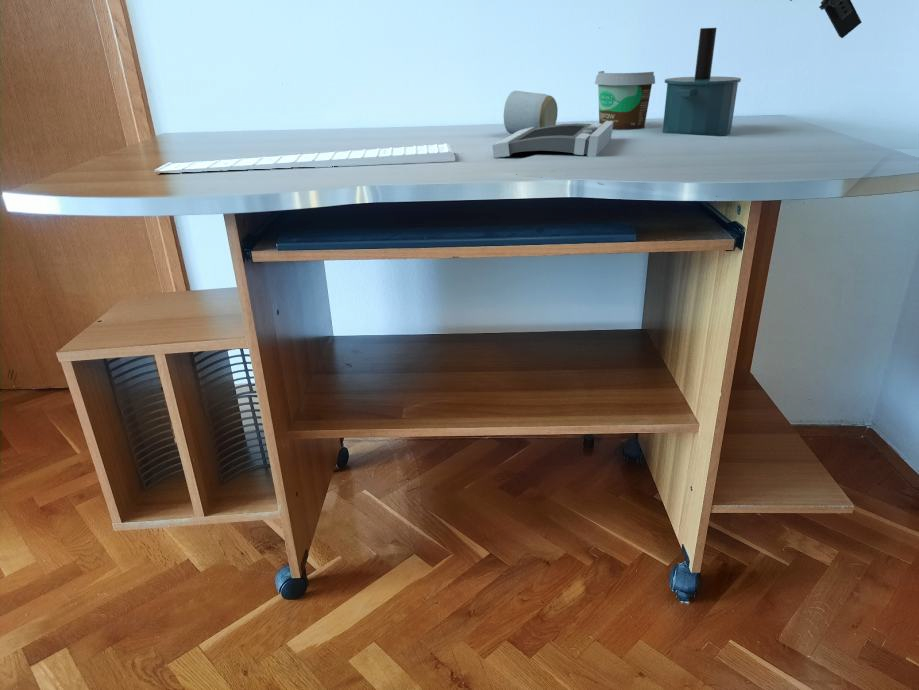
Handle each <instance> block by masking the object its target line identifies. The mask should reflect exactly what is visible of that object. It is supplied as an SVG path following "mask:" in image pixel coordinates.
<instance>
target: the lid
mask: <svg viewBox="0 0 919 690" xmlns="http://www.w3.org/2000/svg"><path fill="white" fill-rule="evenodd" d="M716 36H717V27H700V28H699V38H698V46H697V54H696V61H695V62H696V63H695V70H694V71H695V72H694V76H679V77H678V76H677V77H669V78H665V79H664V84H667V83H668V84H682V85H711V84H730V83H738V84H739V83H741V82H742V78H741V77H736V76H711V75H712V69H713V68H712V66H713V61H714V60H713V59H714V52H715V51H714V50H715V44H716Z"/></svg>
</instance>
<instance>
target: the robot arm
mask: <svg viewBox="0 0 919 690" xmlns="http://www.w3.org/2000/svg"><path fill="white" fill-rule="evenodd" d="M789 1H790V2H792V1H793V0H789ZM820 4H821V5H819V7H818V8H819V9H820V10H821V11H823V10H824V11H825V13H826V15H827V17H828V19H829V21H830V22H831V24H832V26H833V28H834V30H835V31H836V33H837V36H838V37H839V38H841V39H843V38H844V37H846V36H848V34H850V33H851V32H852V31H853V30H855V29H856V28H857V27H858V26H859V25H860V24H862V23H863V22H862V19H861V17H860V16H859V14H858V12H857V10H856V7H855V6H854V4H853V2H852V0H821V1H820Z"/></svg>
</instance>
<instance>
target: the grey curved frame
mask: <svg viewBox="0 0 919 690" xmlns="http://www.w3.org/2000/svg"><path fill="white" fill-rule="evenodd" d="M612 128H613V121H606V122H604V123H603V124H599V122H598V123H596V122H593V123H580V122H578V123H577V122H576V123H561V124H556V125H553V126H546V127H541V128H536V129H534V127H531V128H526V129H522V130H519V131H517V132H515V133H514V134H510V135H508V136H507V137H505V138H502V139H501V140H499V141H497V142H495V143H493V144H492V145H491V146H492V152H493V158H494V159H496V158H505V157H511V156H512V155H513V154H516V153H521V152H522V153H523V152H539V151H542V152H543V151H544V152H562V153H571V154H573V155H575V156H577V155H578V156H585V155H586V157H588V158H589V157H591V158H593V157H594V158H596V157H597V156H598V155H599V154H600V153H601V151H602V150H603V149H604V148H605V147H606V145H608V143H609V142H610V141H611V140H612V135H613V129H612Z"/></svg>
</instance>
